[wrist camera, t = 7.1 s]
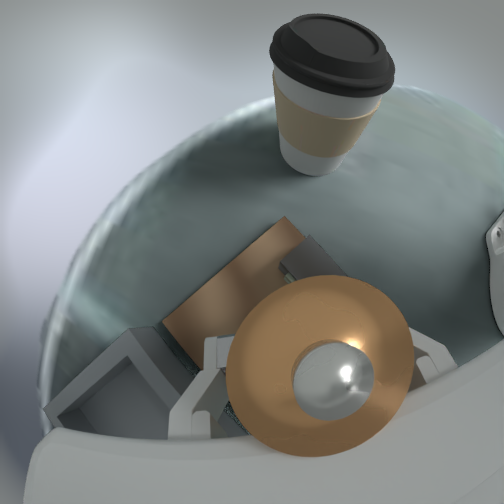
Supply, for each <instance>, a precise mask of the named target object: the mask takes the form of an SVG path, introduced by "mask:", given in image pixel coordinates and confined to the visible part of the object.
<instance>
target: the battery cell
mask: <svg viewBox="0 0 504 504" xmlns="http://www.w3.org/2000/svg"><path fill="white" fill-rule="evenodd" d="M413 369H414V346H413V341H412V336H411V333H410V330H409V327H408V324H407V322H406V320H405V318H404V316H403V314H402V313H401V312H400V310H399V309H398V307H397V306H396V305H395V304H394V303H393V301H392V300H391V299H390V298H389V297H388V296H386V295H385V294H384V293H383V292H381V291H380V290H379V289H377V288H375V287H374V286H372V285H370V284H368V283H366V282H363V281H361V280H358V279H354V278H350V277H346V276H338V275H320V276H314V277H308V278H304V279H301V280H297V281H294V282H292V283H290V284H287V285H285V286H283V287H281V288H279V289H278V290H276V291H274V292H273V293H271V294H270V295H268V296H267V297H266V298H265V299H263V300H262V301H261V302H260V303H259V304H258V305H257V306H256V307H255V308H254V309H253V310H252V311H251V312H250V313H249V314H248V315H247V317H246V318H245V319H244V321H243V322H242V324H241V325H240V327H239V329H238V330H237V332H236V334H235V336H234V339H233V341H232V343H231V346H230V350H229V353H228V357H227V364H226V386H227V393H228V397H229V400H230V403H231V406H232V408H233V410H234V412H235V414H236V416H237V418H238V419H239V421H240V422H241V424H242V425H243V426H244V427H245V428H246V430H247V431H248V432H249V433H250V434H251V435H252V436H254V437H255V438H256V439H257V440H259V441H260V442H261V443H263V444H265V445H266V446H268V447H270V448H272V449H274V450H277V451H279V452H282V453H285V454H289V455H293V456H300V457H323V456H330V455H334V454H338V453H341V452H345V451H347V450H350V449H352V448H354V447H357V446H359V445H361V444H362V443H364V442H366V441H367V440H369V439H370V438H372V437H373V436H374V435H376V434H377V433H378V432H379V431H380V430H382V429H383V428H384V427H385V426H386V425H387V424H388V422H389V421H390V420H391V419H392V418H393V416H394V415H395V414H396V412H397V411H398V409H399V408H400V406H401V404H402V403H403V401H404V399H405V397H406V394H407V392H408V389H409V386H410V383H411V380H412V375H413Z"/></svg>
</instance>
